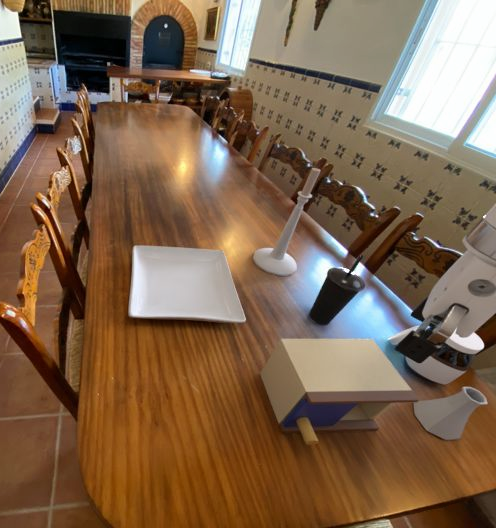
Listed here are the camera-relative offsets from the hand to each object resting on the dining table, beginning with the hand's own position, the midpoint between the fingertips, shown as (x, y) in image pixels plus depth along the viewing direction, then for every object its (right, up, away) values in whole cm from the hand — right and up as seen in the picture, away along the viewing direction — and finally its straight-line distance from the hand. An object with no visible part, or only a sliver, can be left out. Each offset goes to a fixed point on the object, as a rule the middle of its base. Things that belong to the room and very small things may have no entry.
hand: (414, 337), depth 44 cm
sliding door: (-11, -19, +7) cm, 23 cm away
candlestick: (0, +11, +47) cm, 49 cm away
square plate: (-31, +4, +35) cm, 47 cm away
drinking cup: (+4, -3, +31) cm, 31 cm away
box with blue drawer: (-7, -16, +13) cm, 22 cm away
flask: (+15, -19, +12) cm, 27 cm away
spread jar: (+20, -11, +23) cm, 32 cm away
